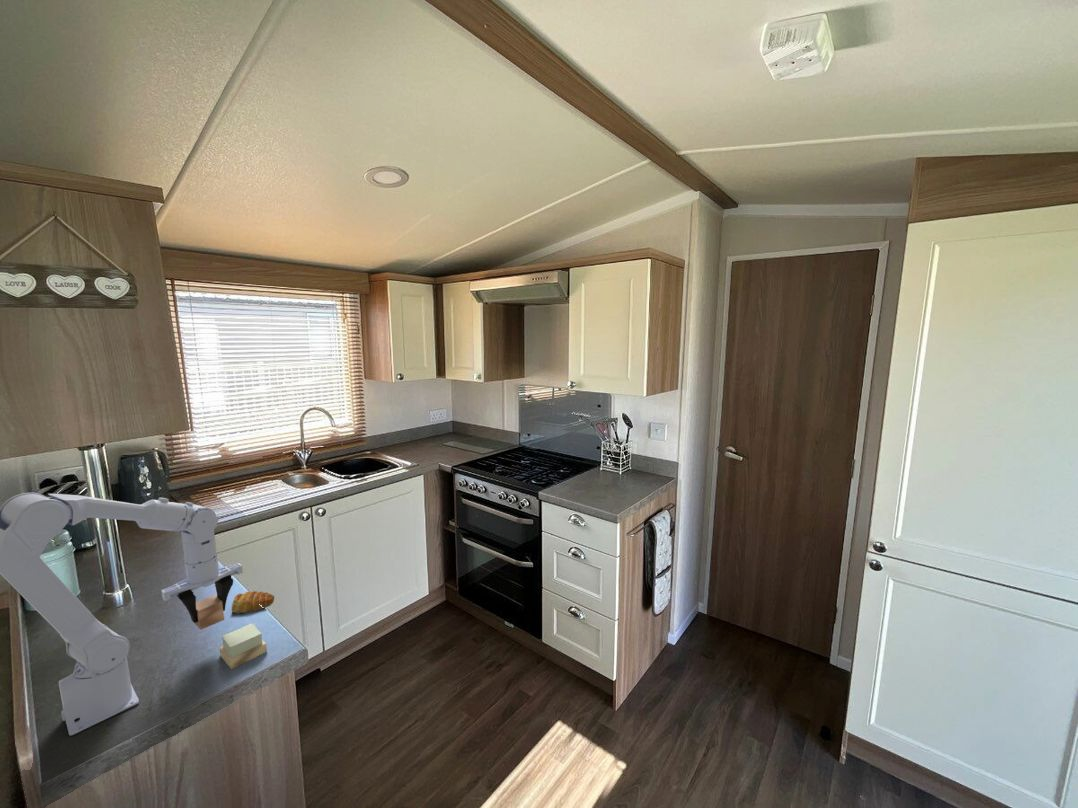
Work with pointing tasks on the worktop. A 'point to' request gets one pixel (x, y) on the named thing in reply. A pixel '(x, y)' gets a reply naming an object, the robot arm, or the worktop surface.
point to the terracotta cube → (209, 612)
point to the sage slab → (242, 640)
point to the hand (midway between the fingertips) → (208, 615)
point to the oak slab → (242, 655)
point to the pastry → (251, 601)
